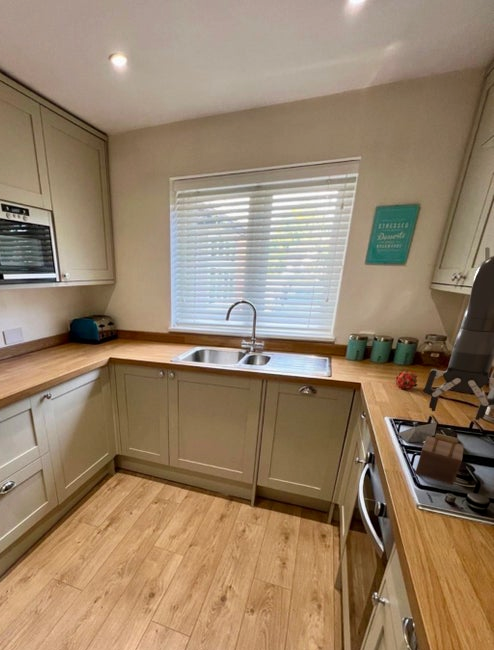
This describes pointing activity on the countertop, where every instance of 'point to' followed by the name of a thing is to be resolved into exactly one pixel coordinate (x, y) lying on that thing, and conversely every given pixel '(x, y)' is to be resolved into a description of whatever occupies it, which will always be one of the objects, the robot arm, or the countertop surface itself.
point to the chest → (437, 468)
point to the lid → (444, 447)
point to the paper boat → (418, 432)
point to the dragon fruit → (406, 380)
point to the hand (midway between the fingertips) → (454, 414)
